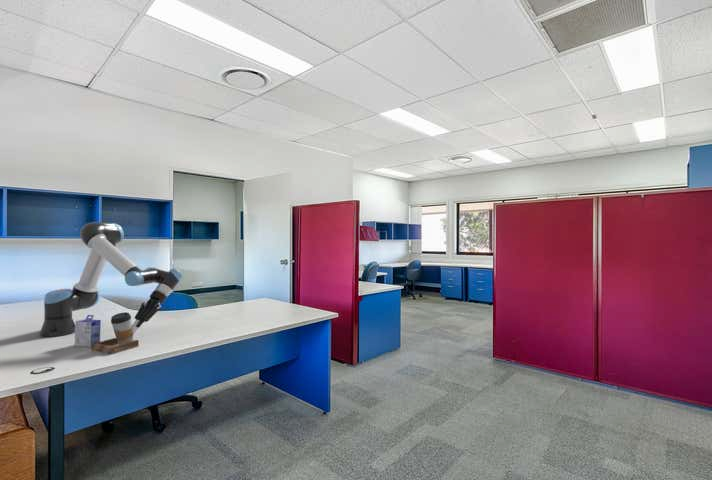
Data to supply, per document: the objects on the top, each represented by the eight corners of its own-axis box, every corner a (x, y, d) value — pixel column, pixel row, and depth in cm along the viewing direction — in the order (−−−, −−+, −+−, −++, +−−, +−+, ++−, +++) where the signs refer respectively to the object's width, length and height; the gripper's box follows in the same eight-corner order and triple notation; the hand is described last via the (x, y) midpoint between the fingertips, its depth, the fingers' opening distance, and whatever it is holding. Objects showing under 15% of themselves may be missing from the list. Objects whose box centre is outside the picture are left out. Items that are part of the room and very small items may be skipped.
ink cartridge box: (101, 344, 176) (101, 315, 176) (90, 347, 171) (91, 317, 171) (84, 342, 178) (84, 314, 178) (74, 346, 173) (74, 316, 173)
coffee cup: (140, 340, 178) (134, 312, 174) (124, 349, 170) (118, 320, 167) (128, 338, 181) (122, 311, 177) (112, 346, 173) (105, 318, 169)
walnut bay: (91, 350, 167) (91, 343, 167) (119, 342, 179) (119, 336, 179) (111, 354, 162) (111, 347, 162) (138, 346, 174) (138, 340, 174)
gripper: (173, 298, 192) (145, 337, 177) (156, 297, 197) (127, 335, 182) (164, 290, 187) (134, 329, 172) (147, 289, 192) (116, 327, 177)
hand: (131, 332), depth 177 cm, fingers closed
